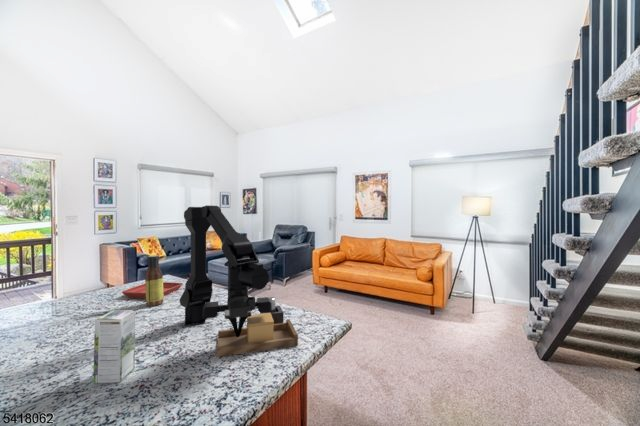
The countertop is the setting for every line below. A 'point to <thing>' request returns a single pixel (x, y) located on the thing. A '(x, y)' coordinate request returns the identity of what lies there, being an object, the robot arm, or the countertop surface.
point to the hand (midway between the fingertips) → (237, 336)
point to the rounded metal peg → (272, 304)
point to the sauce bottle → (154, 282)
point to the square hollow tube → (277, 315)
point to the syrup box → (114, 346)
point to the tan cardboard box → (260, 327)
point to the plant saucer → (141, 290)
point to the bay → (237, 345)
